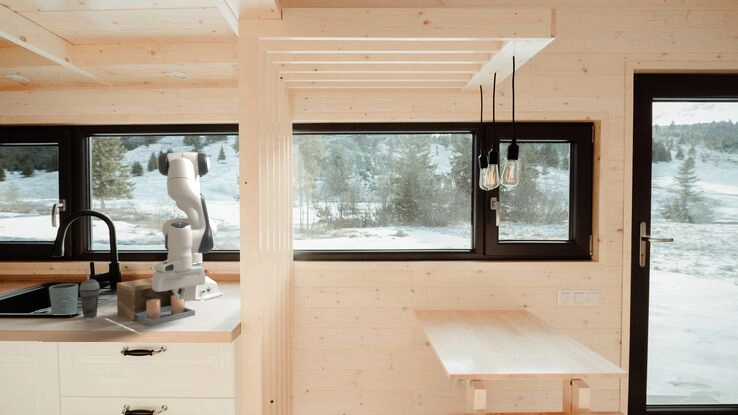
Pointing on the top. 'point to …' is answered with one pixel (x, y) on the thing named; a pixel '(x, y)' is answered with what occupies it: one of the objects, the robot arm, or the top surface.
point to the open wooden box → (139, 297)
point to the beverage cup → (89, 297)
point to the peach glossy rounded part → (176, 306)
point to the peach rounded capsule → (153, 309)
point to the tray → (164, 316)
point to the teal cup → (64, 298)
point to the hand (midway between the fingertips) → (179, 299)
